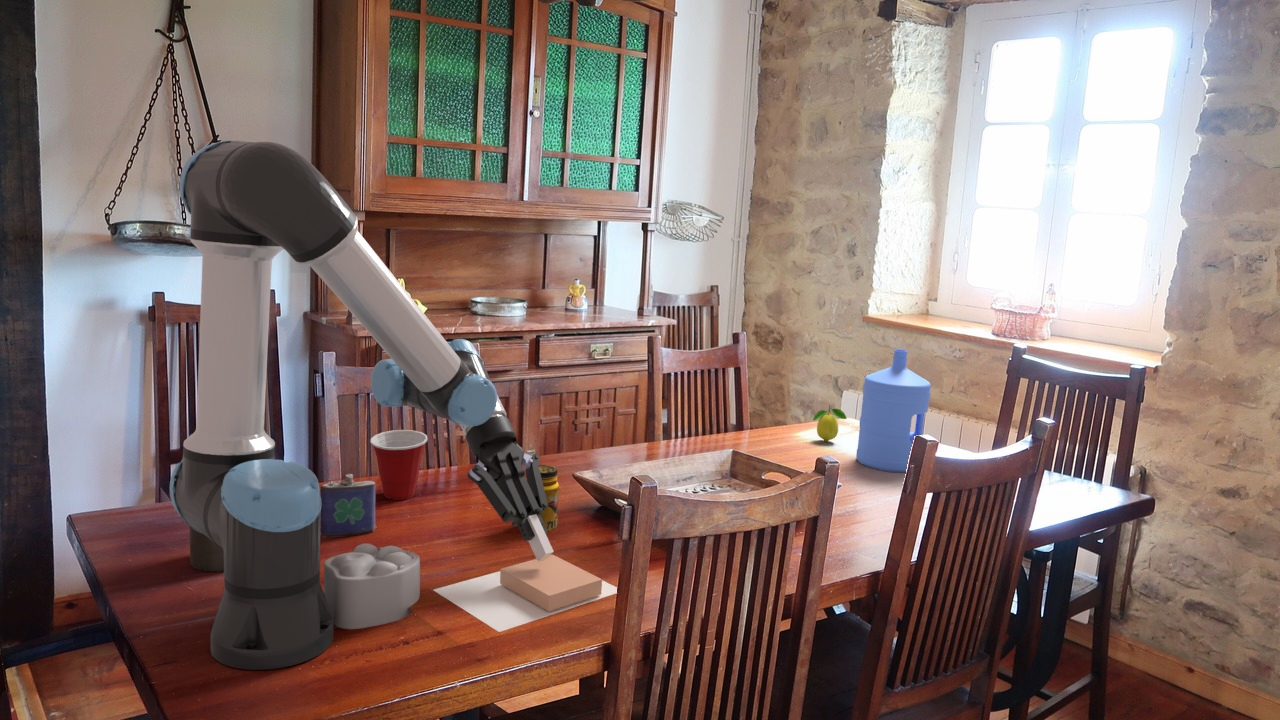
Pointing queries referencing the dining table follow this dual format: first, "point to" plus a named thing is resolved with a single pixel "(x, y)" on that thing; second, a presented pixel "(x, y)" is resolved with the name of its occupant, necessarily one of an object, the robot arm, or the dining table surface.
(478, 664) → the dining table surface
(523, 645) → the dining table surface
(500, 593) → the board
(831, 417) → the lemon
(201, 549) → the pillar candle
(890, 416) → the water jug
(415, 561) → the lumpy-topped squat cylinder
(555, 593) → the tile
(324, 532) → the flask
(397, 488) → the plastic cup
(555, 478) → the condiment
